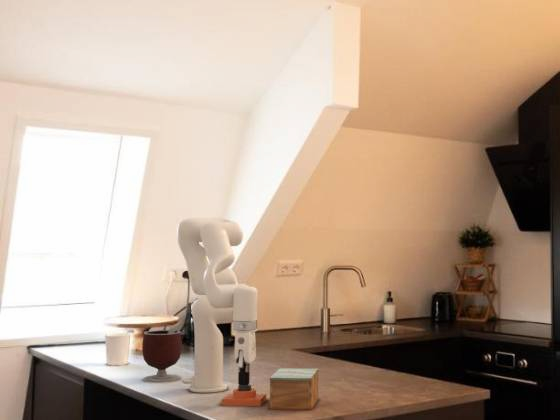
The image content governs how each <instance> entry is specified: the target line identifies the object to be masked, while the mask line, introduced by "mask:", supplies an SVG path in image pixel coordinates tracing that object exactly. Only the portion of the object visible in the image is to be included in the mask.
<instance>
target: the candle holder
mask: <svg viewBox="0 0 560 420" xmlns="http://www.w3.org/2000/svg"><path fill="white" fill-rule="evenodd" d="M104 339H105V355H106V356H105V359H106V365H107V366H124V365H127V364H129V358H130V357H129V355H130V344H131V333H128V332H114V333H113V332H112V333H106V334H105V335H104Z"/></svg>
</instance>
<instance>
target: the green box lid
mask: <svg viewBox="0 0 560 420" xmlns="http://www.w3.org/2000/svg"><path fill="white" fill-rule="evenodd" d="M317 372H318V373H319V368H293V367H291V368H290V367H289V368H283V367H282V368H281V367H280V368H278V369H277V370H276V371H275V372H274V373H273V374H272V375H271V376H270V377H269V381H270V380H284V381H311V380H312V379H313V378H314V376H315V375H316V374H317Z"/></svg>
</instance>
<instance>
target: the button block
mask: <svg viewBox="0 0 560 420" xmlns="http://www.w3.org/2000/svg"><path fill="white" fill-rule="evenodd" d="M266 401H267V393H257V389H256V388H254V387H251V391H238V388H234V389H233V390H232V392H229V393H228V394H226V395H225V396H224V397H223V398H222V399H221V406H223V407H226V406H227V407H229V406H231V407H237V406H238V407H261V406H262V405H263V404H264V403H265V402H266Z"/></svg>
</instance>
